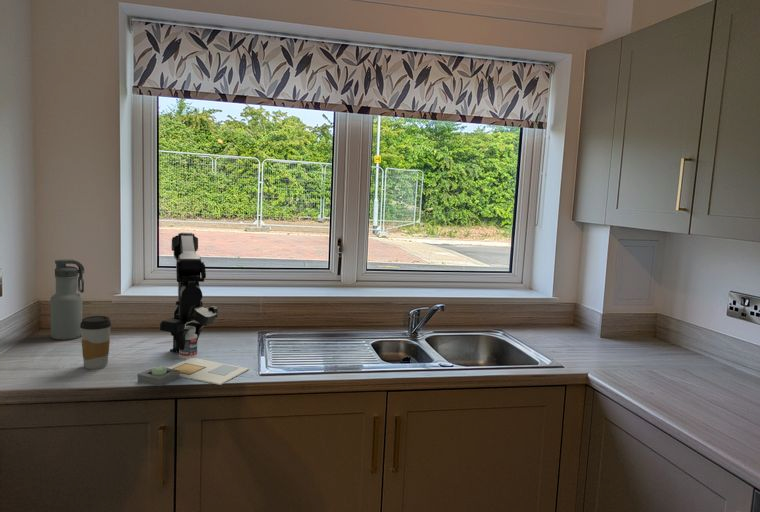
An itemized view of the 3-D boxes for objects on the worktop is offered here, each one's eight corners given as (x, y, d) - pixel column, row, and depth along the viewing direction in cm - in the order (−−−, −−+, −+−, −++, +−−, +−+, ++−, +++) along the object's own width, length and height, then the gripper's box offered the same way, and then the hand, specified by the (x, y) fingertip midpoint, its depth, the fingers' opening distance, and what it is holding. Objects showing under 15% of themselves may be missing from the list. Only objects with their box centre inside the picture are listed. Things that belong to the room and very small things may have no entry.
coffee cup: (117, 364, 158) (117, 317, 156) (94, 372, 150) (94, 323, 149) (97, 360, 161) (97, 314, 159) (73, 367, 153) (73, 319, 151)
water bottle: (80, 331, 190) (79, 257, 186) (86, 337, 183) (86, 261, 179) (48, 335, 183) (47, 258, 180) (53, 342, 176) (52, 262, 172)
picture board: (159, 372, 154) (159, 370, 154) (191, 358, 168) (192, 357, 168) (220, 385, 147) (220, 383, 147) (249, 369, 161) (249, 368, 161)
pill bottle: (190, 359, 154) (191, 330, 152) (175, 356, 155) (175, 328, 153) (200, 353, 159) (201, 326, 158) (185, 351, 160) (185, 324, 159)
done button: (148, 377, 147) (148, 369, 147) (158, 373, 151) (158, 365, 150) (159, 379, 146) (159, 371, 145) (169, 375, 149) (169, 367, 149)
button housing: (137, 381, 146) (137, 374, 145) (157, 373, 153) (158, 366, 153) (160, 386, 143) (160, 379, 143) (179, 377, 151) (179, 370, 150)
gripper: (190, 307, 143) (189, 360, 145) (229, 296, 161) (228, 343, 163) (158, 302, 147) (157, 354, 148) (200, 291, 164) (199, 338, 166)
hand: (188, 347), depth 156 cm, fingers closed on pill bottle, 5 cm apart
